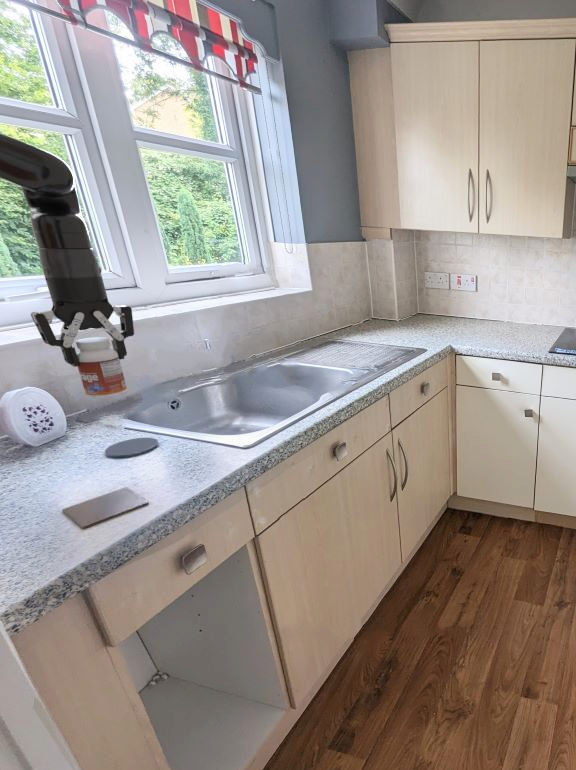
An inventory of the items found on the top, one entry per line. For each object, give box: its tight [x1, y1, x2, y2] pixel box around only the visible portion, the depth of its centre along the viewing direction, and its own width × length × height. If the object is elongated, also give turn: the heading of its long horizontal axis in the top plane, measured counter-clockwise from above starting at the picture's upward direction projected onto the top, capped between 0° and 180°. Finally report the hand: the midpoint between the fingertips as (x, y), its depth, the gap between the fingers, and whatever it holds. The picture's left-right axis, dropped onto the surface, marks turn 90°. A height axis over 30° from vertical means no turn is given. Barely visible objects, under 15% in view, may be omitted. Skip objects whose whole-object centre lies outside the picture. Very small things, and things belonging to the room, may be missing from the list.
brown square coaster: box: [61, 486, 150, 530], centre depth 80 cm, size 9×9×1 cm
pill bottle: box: [75, 336, 128, 399], centre depth 89 cm, size 6×6×11 cm
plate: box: [104, 437, 159, 459], centre depth 100 cm, size 9×9×1 cm
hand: (98, 361), depth 88 cm, fingers closed on pill bottle, 6 cm apart
